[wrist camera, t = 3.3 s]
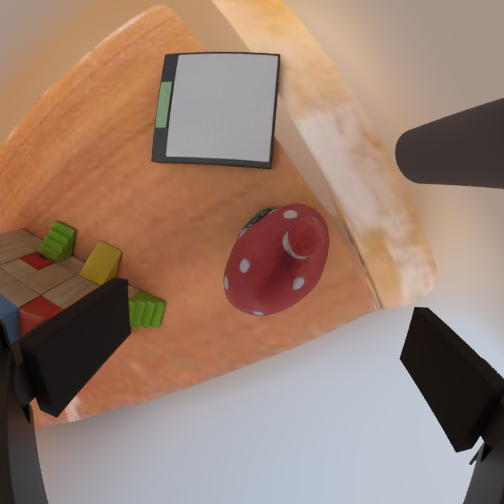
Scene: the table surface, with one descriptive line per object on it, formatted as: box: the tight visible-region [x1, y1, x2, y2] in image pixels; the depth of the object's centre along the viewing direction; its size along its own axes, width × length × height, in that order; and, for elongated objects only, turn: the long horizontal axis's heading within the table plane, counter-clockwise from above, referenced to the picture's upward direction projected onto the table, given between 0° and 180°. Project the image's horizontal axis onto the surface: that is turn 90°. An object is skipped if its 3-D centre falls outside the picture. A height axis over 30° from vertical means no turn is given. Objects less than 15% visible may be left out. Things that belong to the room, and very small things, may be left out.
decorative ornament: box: [223, 204, 329, 316], centre depth 25 cm, size 9×7×15 cm
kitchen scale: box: [151, 52, 280, 169], centre depth 28 cm, size 12×12×3 cm
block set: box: [0, 221, 166, 378], centre depth 26 cm, size 28×14×19 cm, turn 69°
